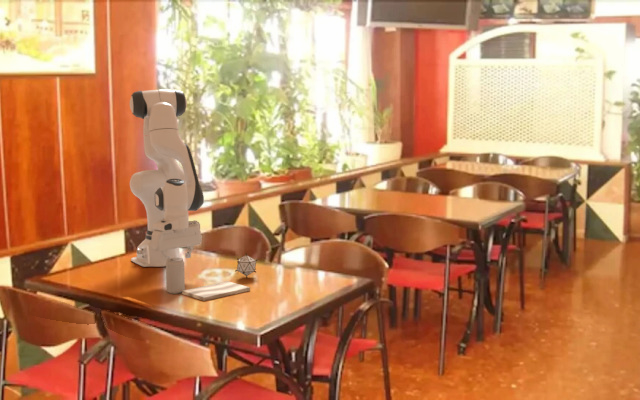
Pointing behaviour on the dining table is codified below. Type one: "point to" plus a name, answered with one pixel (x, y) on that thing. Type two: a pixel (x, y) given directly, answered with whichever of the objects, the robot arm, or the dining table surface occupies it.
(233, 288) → the board
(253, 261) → the game die
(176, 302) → the dining table surface
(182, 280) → the beverage can
